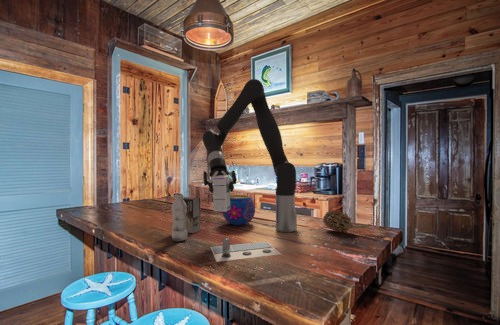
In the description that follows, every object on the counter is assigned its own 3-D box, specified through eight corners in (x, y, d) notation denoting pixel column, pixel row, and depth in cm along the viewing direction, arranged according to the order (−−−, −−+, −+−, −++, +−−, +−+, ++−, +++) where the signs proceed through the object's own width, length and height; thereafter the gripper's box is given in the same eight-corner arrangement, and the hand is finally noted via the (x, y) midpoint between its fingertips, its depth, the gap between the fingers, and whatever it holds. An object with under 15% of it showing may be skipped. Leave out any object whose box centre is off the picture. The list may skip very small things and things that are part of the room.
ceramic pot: (236, 219, 151) (235, 193, 151) (261, 223, 141) (261, 195, 140) (215, 225, 137) (215, 197, 137) (242, 230, 126) (241, 199, 126)
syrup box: (226, 211, 106) (226, 176, 105) (213, 211, 107) (212, 176, 107) (230, 209, 111) (230, 175, 111) (217, 208, 112) (216, 175, 112)
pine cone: (319, 231, 123) (319, 210, 123) (326, 227, 131) (326, 207, 131) (370, 239, 111) (369, 216, 111) (374, 234, 119) (374, 212, 118)
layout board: (266, 243, 106) (266, 240, 106) (281, 256, 92) (281, 253, 92) (210, 249, 99) (210, 246, 99) (216, 264, 85) (216, 261, 85)
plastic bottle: (190, 239, 113) (190, 193, 113) (181, 244, 106) (181, 195, 106) (177, 238, 115) (177, 192, 115) (168, 242, 109) (167, 194, 108)
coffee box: (201, 230, 128) (200, 197, 128) (193, 233, 122) (193, 199, 122) (185, 228, 131) (185, 196, 131) (177, 231, 125) (177, 198, 125)
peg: (229, 254, 92) (229, 237, 92) (230, 257, 89) (230, 239, 89) (221, 255, 91) (221, 238, 91) (223, 257, 88) (223, 240, 88)
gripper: (201, 157, 114) (205, 186, 103) (233, 156, 118) (240, 184, 107) (200, 169, 119) (204, 197, 108) (231, 168, 123) (237, 195, 112)
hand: (222, 191), depth 107 cm, fingers closed on syrup box, 7 cm apart
